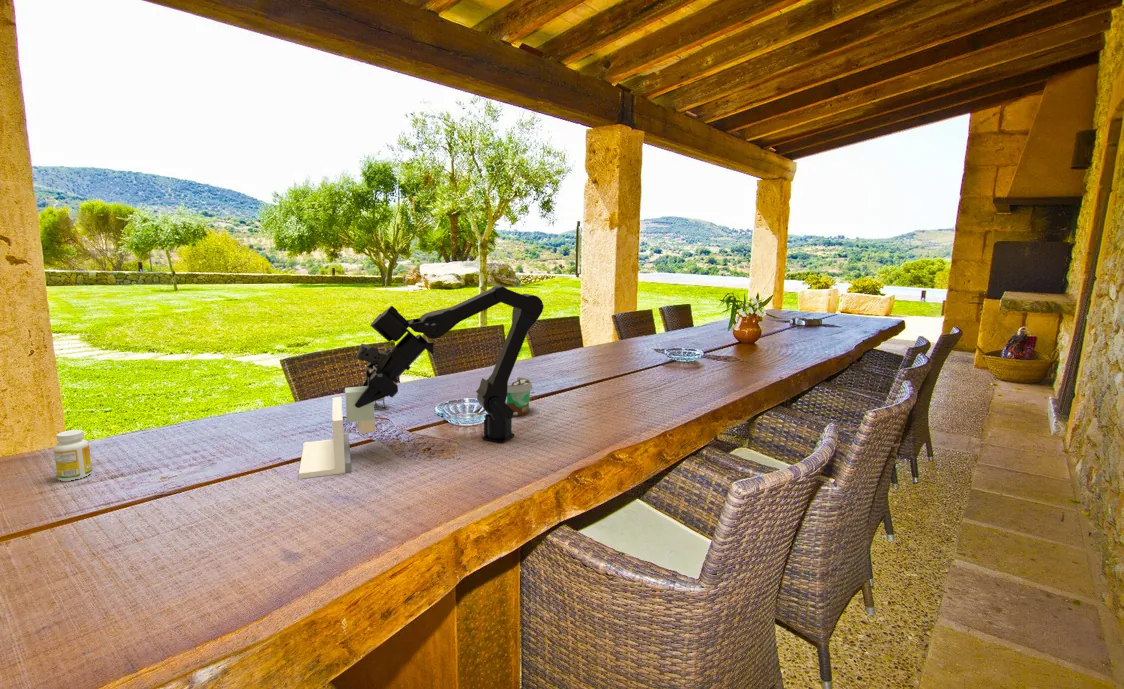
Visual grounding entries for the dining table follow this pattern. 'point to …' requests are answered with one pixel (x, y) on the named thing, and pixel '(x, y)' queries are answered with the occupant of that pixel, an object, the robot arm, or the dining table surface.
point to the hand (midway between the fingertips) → (355, 403)
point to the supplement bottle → (72, 456)
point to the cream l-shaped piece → (327, 450)
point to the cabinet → (359, 410)
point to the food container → (519, 396)
